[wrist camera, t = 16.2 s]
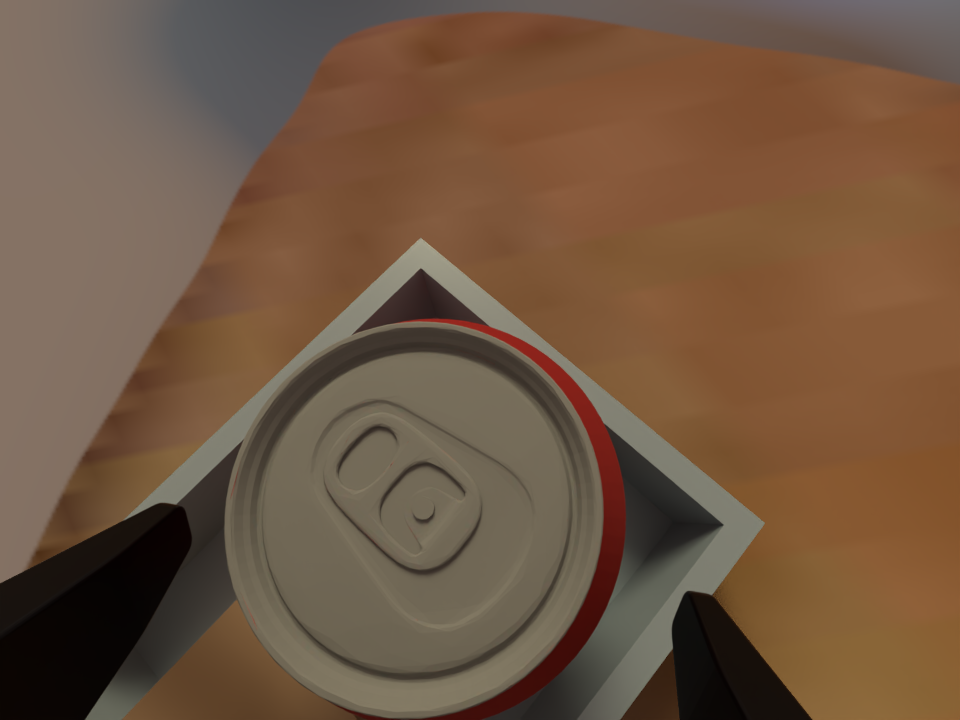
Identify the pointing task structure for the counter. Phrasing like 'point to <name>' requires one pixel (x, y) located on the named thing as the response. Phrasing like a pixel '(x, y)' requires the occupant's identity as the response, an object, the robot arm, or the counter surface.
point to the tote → (648, 538)
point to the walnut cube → (231, 682)
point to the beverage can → (425, 522)
